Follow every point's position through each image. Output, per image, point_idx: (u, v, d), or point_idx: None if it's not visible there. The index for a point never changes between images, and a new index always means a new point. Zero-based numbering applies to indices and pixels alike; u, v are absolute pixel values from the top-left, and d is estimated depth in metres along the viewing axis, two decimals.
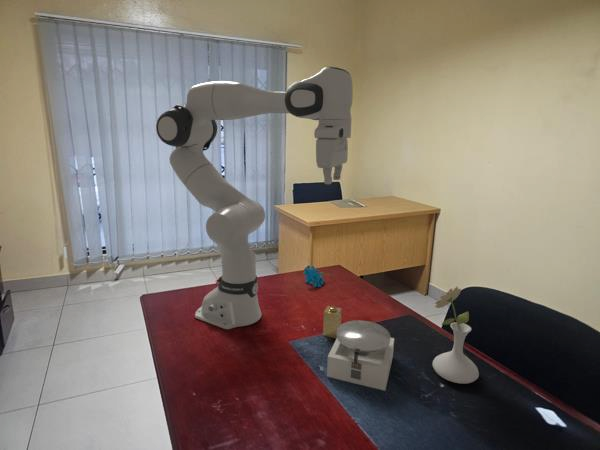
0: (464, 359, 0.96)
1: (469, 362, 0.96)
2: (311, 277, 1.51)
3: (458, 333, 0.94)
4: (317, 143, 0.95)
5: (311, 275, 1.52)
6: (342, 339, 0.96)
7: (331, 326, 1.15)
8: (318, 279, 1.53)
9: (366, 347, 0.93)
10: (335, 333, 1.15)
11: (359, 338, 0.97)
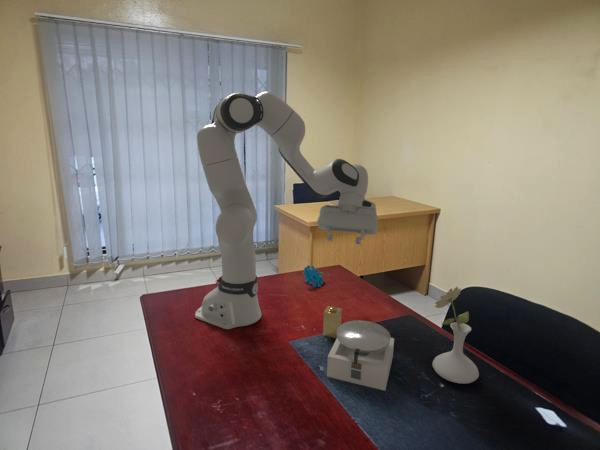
0: (464, 359, 0.96)
1: (469, 362, 0.96)
2: (311, 277, 1.51)
3: (458, 333, 0.94)
4: None
5: (311, 275, 1.52)
6: (342, 339, 0.96)
7: (331, 326, 1.15)
8: (318, 279, 1.53)
9: (366, 347, 0.93)
10: (335, 333, 1.15)
11: (359, 338, 0.97)
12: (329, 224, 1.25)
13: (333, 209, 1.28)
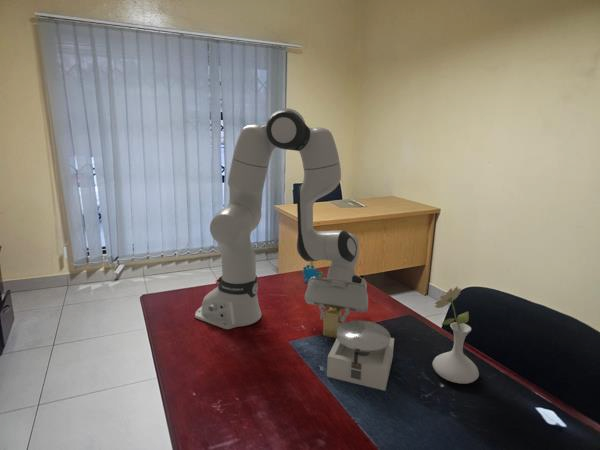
0: (464, 359, 0.96)
1: (469, 362, 0.96)
2: (309, 276, 1.52)
3: (458, 333, 0.94)
4: (366, 290, 1.17)
5: (310, 274, 1.52)
6: (342, 339, 0.96)
7: (331, 326, 1.15)
8: None
9: (366, 347, 0.93)
10: (335, 333, 1.15)
11: (359, 338, 0.97)
12: (317, 300, 1.19)
13: (321, 283, 1.21)
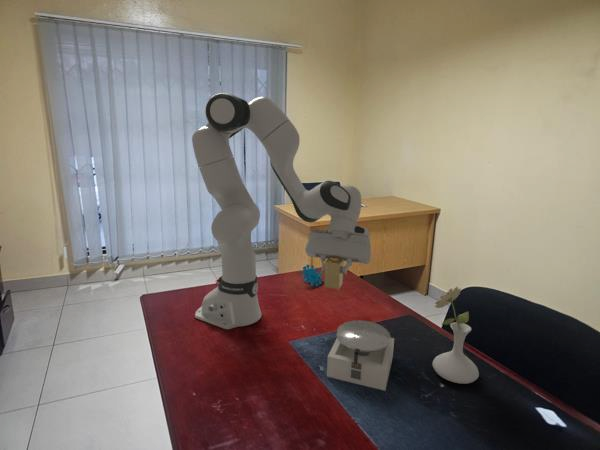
0: (464, 359, 0.96)
1: (469, 362, 0.96)
2: (309, 276, 1.52)
3: (458, 333, 0.94)
4: (369, 240, 1.13)
5: (309, 274, 1.53)
6: (342, 339, 0.96)
7: (333, 276, 1.11)
8: (316, 278, 1.54)
9: (366, 347, 0.93)
10: (337, 283, 1.11)
11: (359, 338, 0.97)
12: (318, 251, 1.15)
13: (323, 235, 1.17)
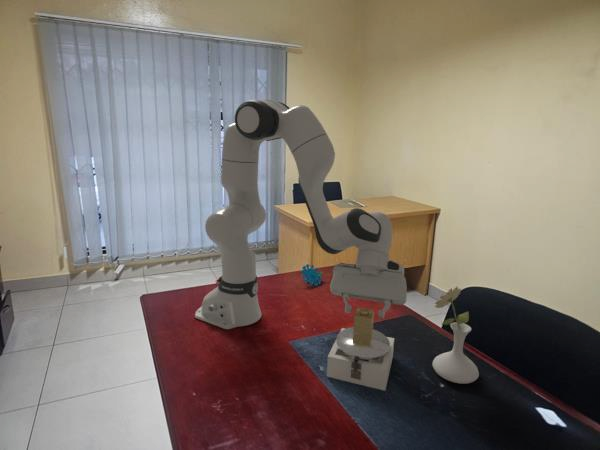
0: (464, 359, 0.96)
1: (469, 362, 0.96)
2: (308, 276, 1.52)
3: (458, 333, 0.94)
4: None
5: (308, 274, 1.53)
6: (342, 346, 0.97)
7: (364, 332, 0.96)
8: (316, 278, 1.54)
9: (365, 355, 0.93)
10: (368, 340, 0.97)
11: (359, 345, 0.97)
12: (345, 290, 1.00)
13: (350, 270, 1.02)
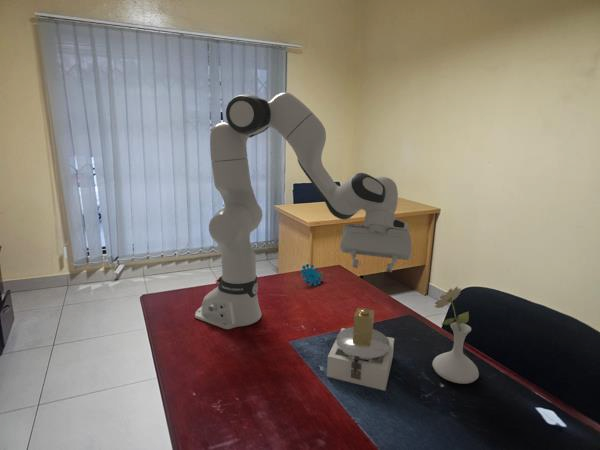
0: (464, 359, 0.96)
1: (469, 362, 0.96)
2: (308, 275, 1.53)
3: (458, 333, 0.94)
4: None
5: (308, 273, 1.53)
6: (342, 346, 0.97)
7: (364, 332, 0.96)
8: (315, 278, 1.54)
9: (365, 355, 0.93)
10: (368, 340, 0.97)
11: (359, 345, 0.97)
12: (354, 247, 1.07)
13: (358, 229, 1.10)
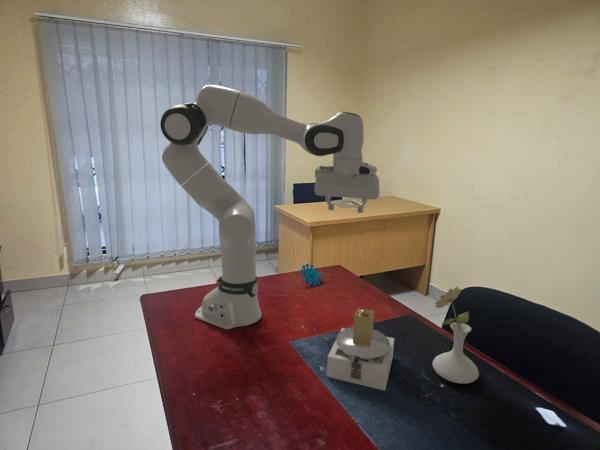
0: (464, 359, 0.96)
1: (469, 362, 0.96)
2: (307, 275, 1.53)
3: (458, 333, 0.94)
4: (376, 179, 1.11)
5: (308, 273, 1.54)
6: (342, 346, 0.97)
7: (364, 332, 0.96)
8: (315, 278, 1.54)
9: (365, 355, 0.93)
10: (368, 340, 0.97)
11: (359, 345, 0.97)
12: (327, 194, 1.17)
13: (328, 175, 1.16)
